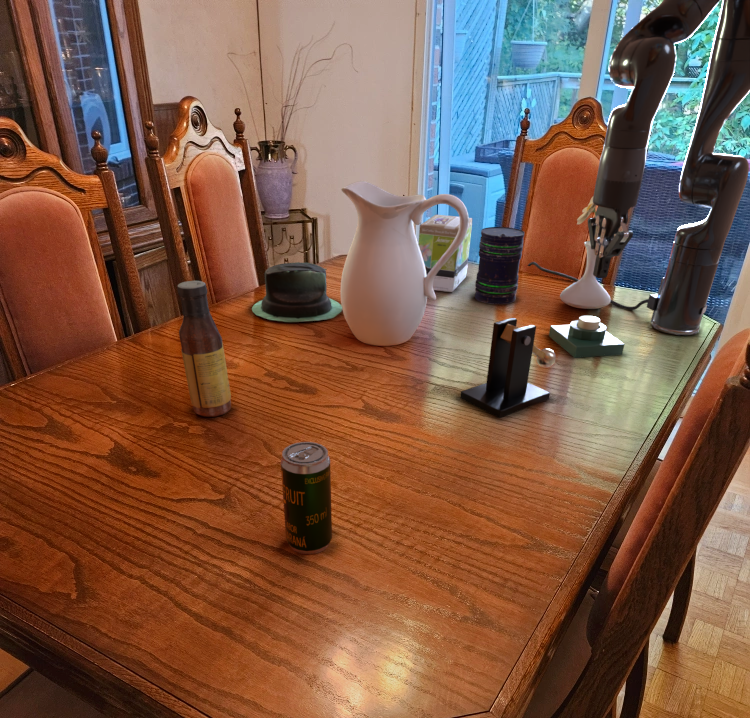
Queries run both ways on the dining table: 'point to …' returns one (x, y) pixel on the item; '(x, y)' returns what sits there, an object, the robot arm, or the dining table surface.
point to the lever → (543, 356)
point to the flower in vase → (586, 278)
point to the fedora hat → (296, 294)
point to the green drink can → (307, 497)
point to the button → (588, 322)
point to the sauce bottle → (203, 353)
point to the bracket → (507, 374)
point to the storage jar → (498, 265)
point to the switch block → (586, 340)
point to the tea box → (444, 250)
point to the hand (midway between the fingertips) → (599, 276)
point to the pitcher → (390, 264)
